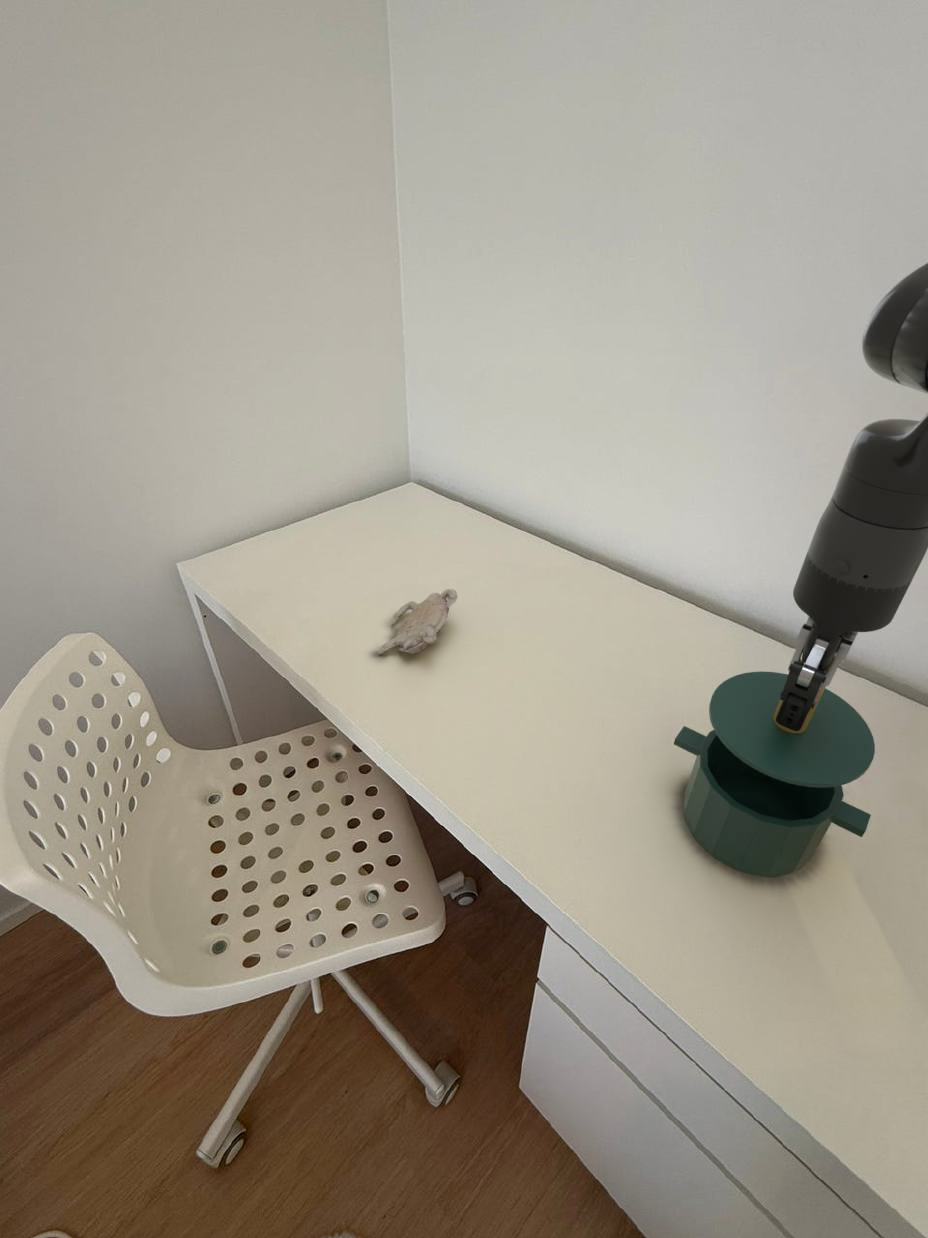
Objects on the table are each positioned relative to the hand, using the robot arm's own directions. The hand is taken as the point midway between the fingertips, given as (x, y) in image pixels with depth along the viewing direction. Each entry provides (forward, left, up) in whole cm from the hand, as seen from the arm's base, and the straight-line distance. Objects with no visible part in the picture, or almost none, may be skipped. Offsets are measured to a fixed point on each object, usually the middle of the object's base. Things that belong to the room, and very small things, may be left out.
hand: (793, 713), depth 61 cm
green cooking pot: (0, 0, -17) cm, 17 cm away
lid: (0, 0, -2) cm, 2 cm away
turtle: (-2, -50, -17) cm, 53 cm away
